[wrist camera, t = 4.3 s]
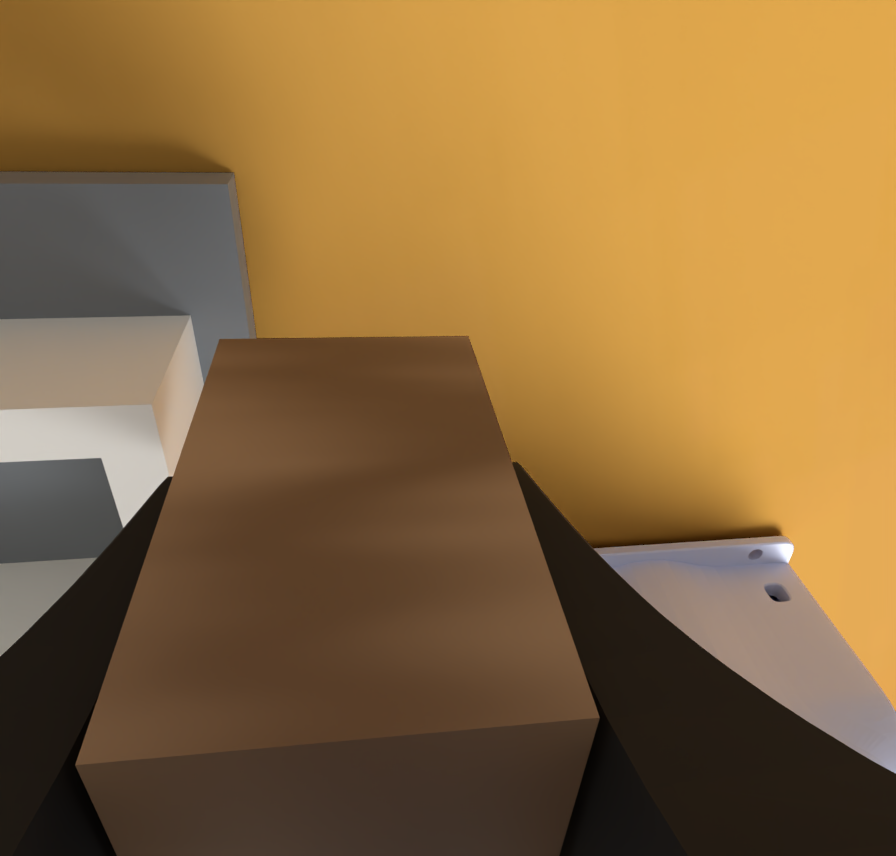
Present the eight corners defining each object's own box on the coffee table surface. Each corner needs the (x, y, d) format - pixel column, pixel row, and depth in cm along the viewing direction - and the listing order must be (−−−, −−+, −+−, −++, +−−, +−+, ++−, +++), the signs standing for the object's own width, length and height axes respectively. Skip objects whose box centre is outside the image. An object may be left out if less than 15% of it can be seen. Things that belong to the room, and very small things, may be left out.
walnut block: (467, 336, 11) (599, 718, 5) (455, 517, 13) (538, 925, 8) (219, 338, 11) (74, 765, 5) (248, 527, 13) (171, 974, 7)
